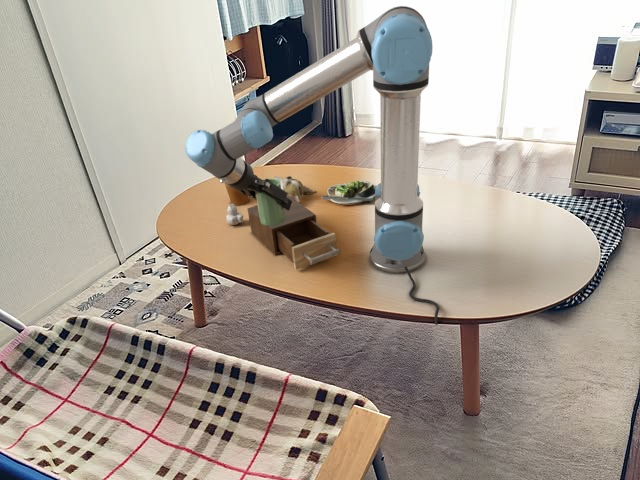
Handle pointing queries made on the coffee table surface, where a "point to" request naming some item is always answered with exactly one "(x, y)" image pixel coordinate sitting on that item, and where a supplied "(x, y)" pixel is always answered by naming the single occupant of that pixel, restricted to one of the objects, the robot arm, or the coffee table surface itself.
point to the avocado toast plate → (351, 193)
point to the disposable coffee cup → (236, 196)
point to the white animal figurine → (233, 215)
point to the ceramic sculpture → (294, 188)
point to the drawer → (306, 243)
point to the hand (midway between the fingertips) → (277, 203)
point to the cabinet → (268, 232)
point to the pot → (270, 208)
